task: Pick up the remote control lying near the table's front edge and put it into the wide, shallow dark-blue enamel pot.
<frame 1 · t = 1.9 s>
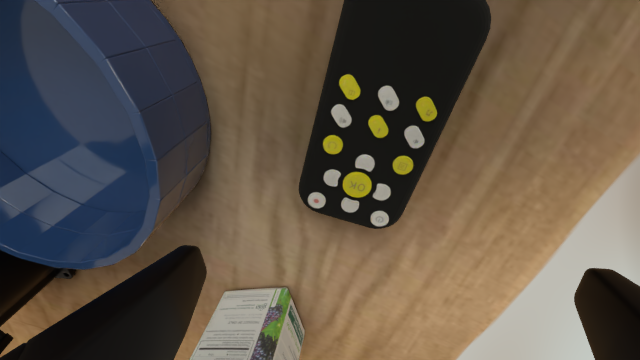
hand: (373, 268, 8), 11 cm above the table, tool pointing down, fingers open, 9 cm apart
remote control: (378, 112, 18), on the table
pot: (79, 102, 20), on the table
syrup box: (266, 308, 28), on the table
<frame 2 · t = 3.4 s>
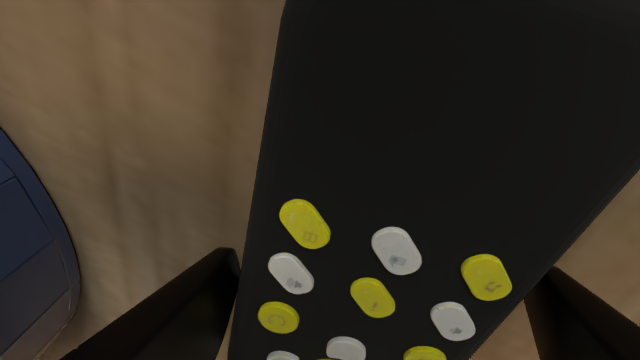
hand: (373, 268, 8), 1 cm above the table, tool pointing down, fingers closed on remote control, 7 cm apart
remote control: (373, 235, 9), on the table, touching gripper
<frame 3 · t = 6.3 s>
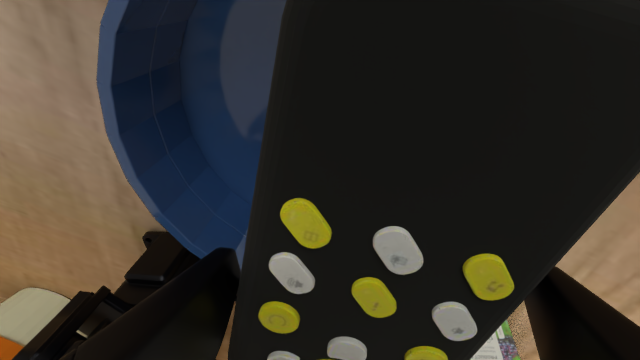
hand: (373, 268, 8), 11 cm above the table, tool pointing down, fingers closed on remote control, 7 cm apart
remote control: (374, 235, 9), point 10 cm above the table, touching gripper
reusable coffee cup: (60, 316, 33), on the table
pot: (326, 110, 17), on the table
syrup box: (460, 335, 25), on the table
when the fingers open (2 cm above the table, at t = 9.4 s): remote control stays where it is, resting on pot.
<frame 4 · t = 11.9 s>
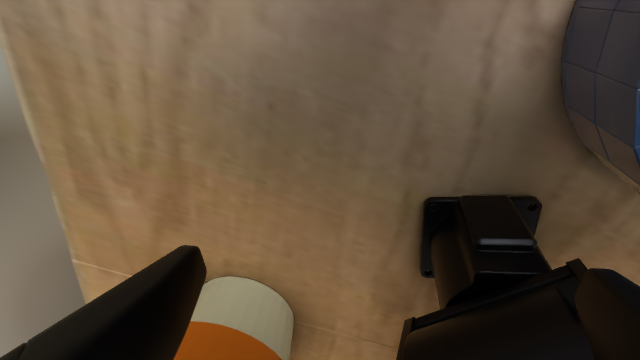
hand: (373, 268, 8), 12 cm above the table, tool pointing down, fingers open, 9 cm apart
reusable coffee cup: (245, 310, 29), on the table
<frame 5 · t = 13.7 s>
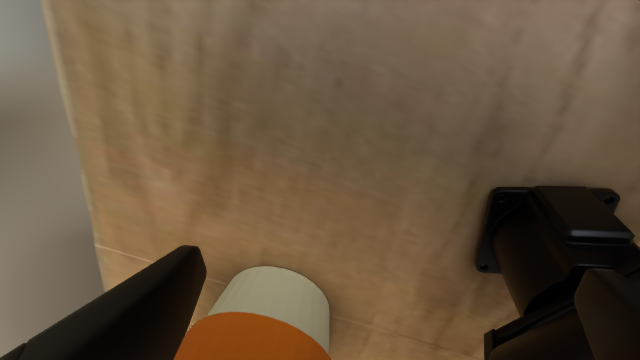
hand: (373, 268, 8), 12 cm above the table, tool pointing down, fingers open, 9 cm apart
reusable coffee cup: (278, 302, 28), on the table
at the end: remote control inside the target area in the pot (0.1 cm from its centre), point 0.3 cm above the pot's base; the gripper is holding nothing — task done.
